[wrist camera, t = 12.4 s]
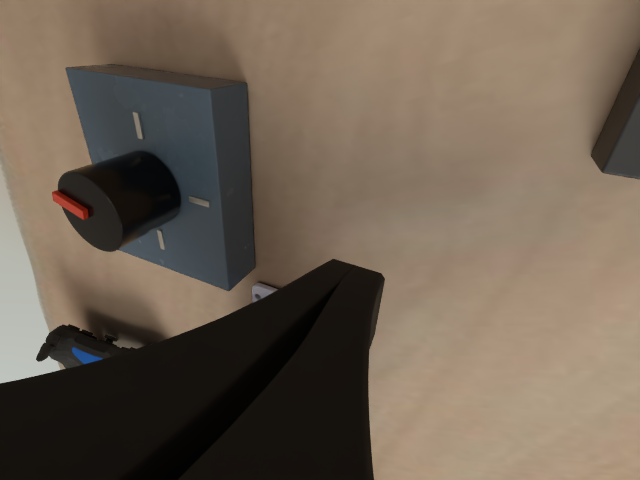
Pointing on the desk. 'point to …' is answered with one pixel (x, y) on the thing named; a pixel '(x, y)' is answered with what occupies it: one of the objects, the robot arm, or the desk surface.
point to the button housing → (622, 131)
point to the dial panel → (179, 160)
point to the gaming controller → (77, 347)
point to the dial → (118, 199)
